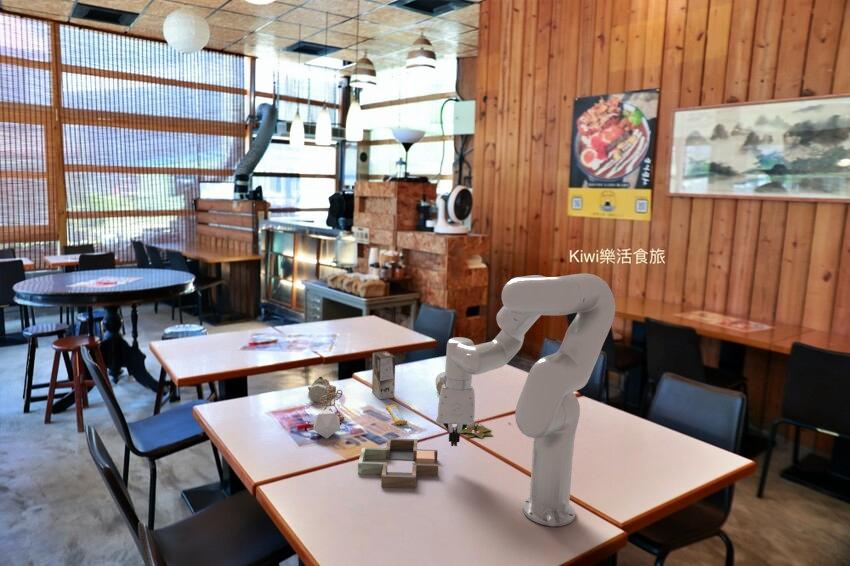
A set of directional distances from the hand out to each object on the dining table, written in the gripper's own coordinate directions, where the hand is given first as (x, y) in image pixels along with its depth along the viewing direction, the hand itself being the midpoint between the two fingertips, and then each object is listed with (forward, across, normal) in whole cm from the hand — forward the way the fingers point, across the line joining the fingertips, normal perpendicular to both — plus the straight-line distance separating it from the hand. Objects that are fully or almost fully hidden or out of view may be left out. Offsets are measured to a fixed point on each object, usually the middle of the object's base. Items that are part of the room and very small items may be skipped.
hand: (453, 443), depth 163 cm
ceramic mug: (+9, +1, +63) cm, 64 cm away
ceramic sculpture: (+10, -47, +53) cm, 72 cm away
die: (+9, -39, +19) cm, 44 cm away
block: (+7, -8, -1) cm, 11 cm away
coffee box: (+9, -24, +58) cm, 64 cm away
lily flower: (+8, +9, +25) cm, 28 cm away
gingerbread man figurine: (+9, -40, +32) cm, 52 cm away
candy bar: (+9, -18, +37) cm, 42 cm away
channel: (+7, -15, -1) cm, 17 cm away
